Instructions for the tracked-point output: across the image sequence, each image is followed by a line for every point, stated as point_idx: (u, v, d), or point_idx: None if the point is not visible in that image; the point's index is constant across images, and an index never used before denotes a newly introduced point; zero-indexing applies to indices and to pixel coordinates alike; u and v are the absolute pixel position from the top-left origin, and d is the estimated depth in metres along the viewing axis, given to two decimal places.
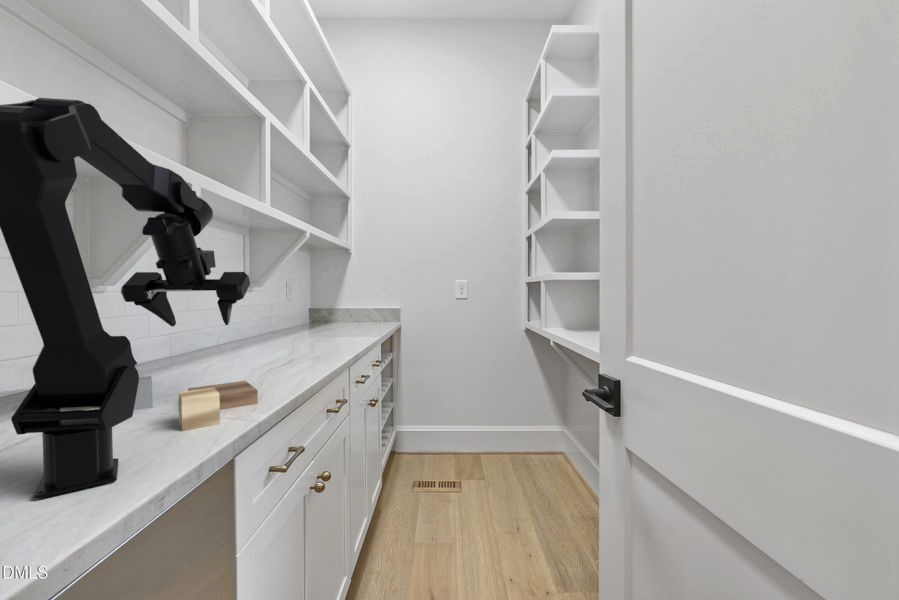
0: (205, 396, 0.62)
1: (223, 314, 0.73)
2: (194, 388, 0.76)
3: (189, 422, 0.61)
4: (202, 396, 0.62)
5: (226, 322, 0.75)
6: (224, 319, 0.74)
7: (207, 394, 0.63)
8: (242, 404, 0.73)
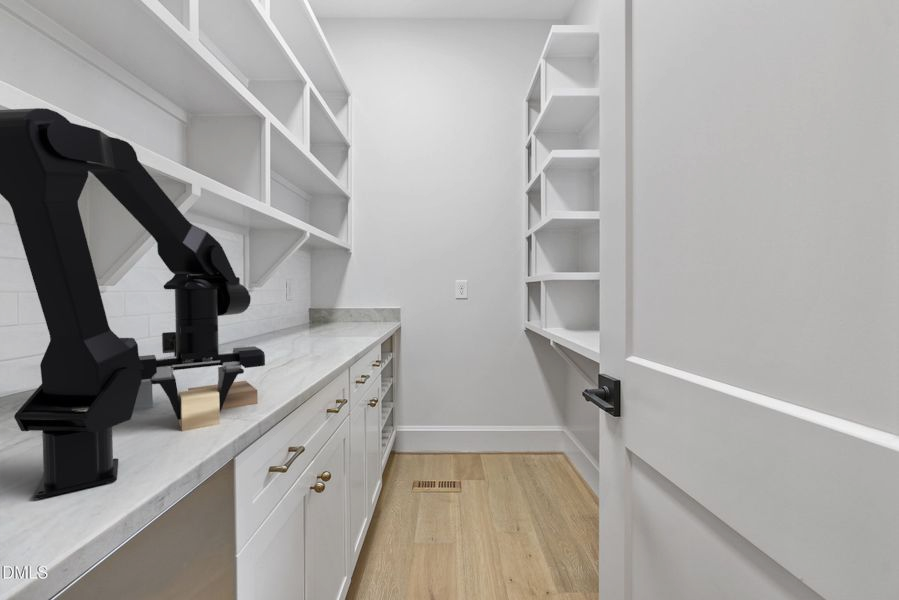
0: (205, 395, 0.62)
1: (223, 393, 0.64)
2: (194, 388, 0.76)
3: (189, 422, 0.61)
4: (202, 395, 0.62)
5: (220, 407, 0.65)
6: (220, 402, 0.65)
7: (207, 393, 0.63)
8: (242, 404, 0.73)
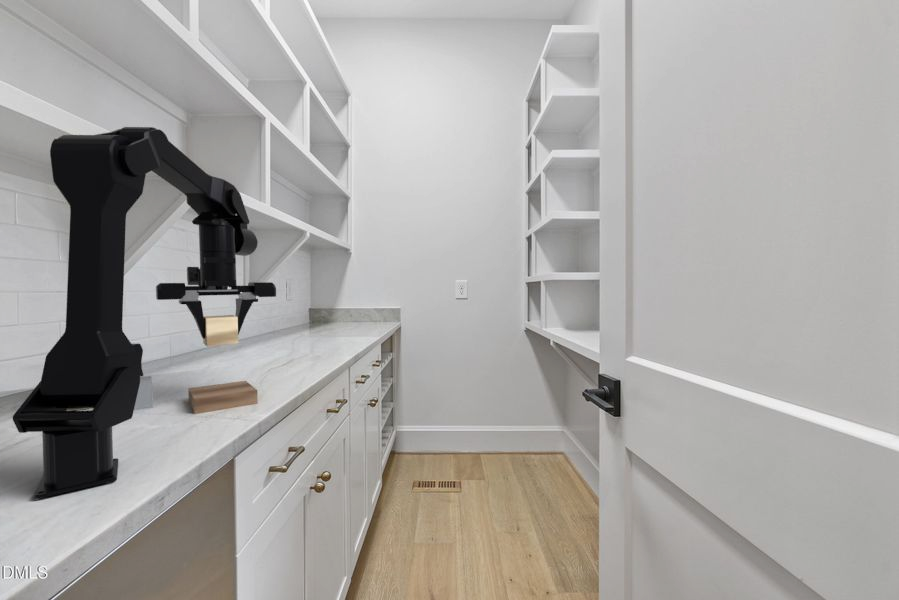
0: (225, 318, 0.72)
1: (240, 318, 0.75)
2: (194, 388, 0.76)
3: (212, 339, 0.71)
4: (223, 318, 0.72)
5: (238, 331, 0.75)
6: (238, 326, 0.75)
7: (227, 317, 0.73)
8: (242, 404, 0.73)
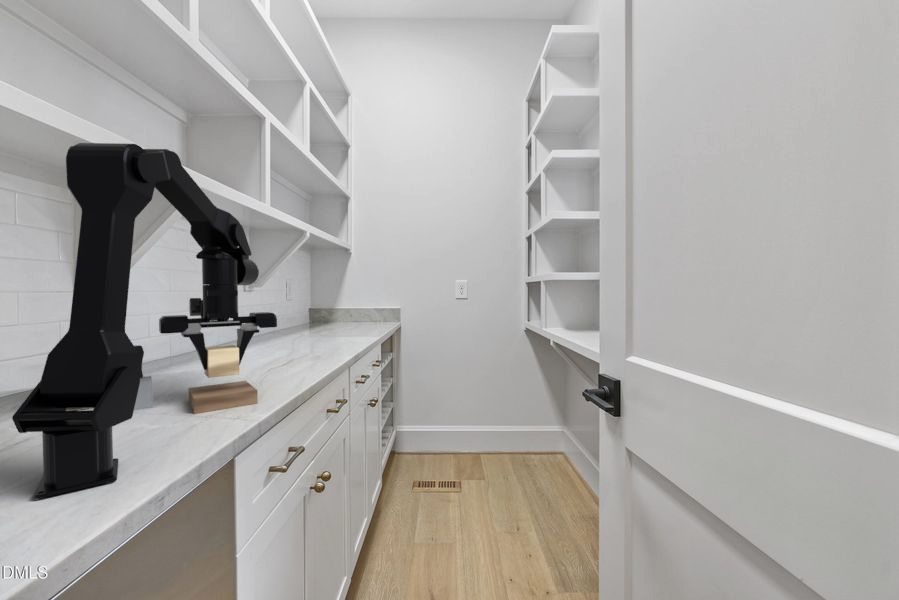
0: (227, 349, 0.74)
1: (242, 349, 0.76)
2: (194, 388, 0.76)
3: (214, 370, 0.72)
4: (225, 349, 0.74)
5: (239, 361, 0.76)
6: (239, 356, 0.76)
7: (229, 348, 0.74)
8: (242, 404, 0.73)
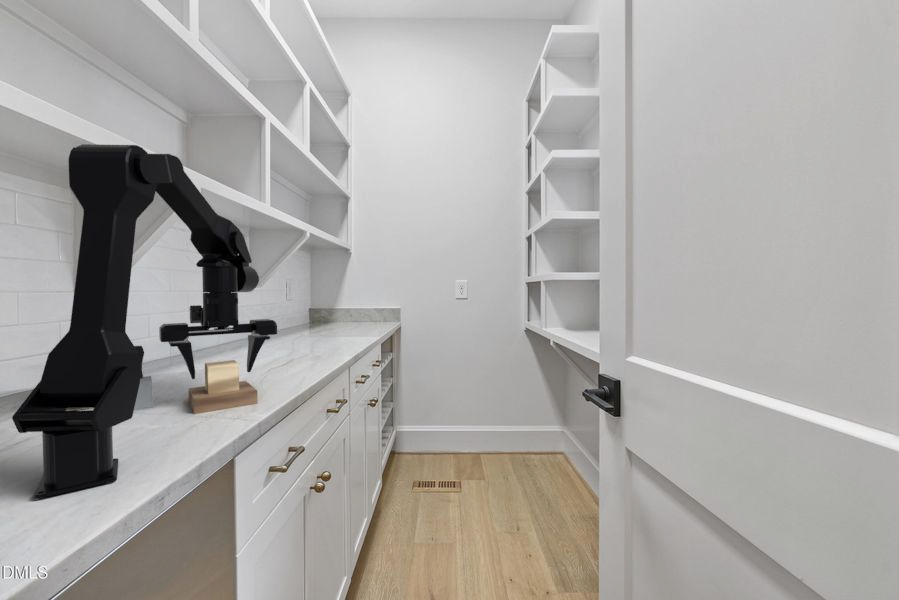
0: (227, 365, 0.74)
1: (253, 355, 0.77)
2: (194, 388, 0.76)
3: (213, 387, 0.72)
4: (224, 365, 0.74)
5: (250, 367, 0.78)
6: (251, 363, 0.77)
7: (228, 364, 0.74)
8: (242, 404, 0.73)
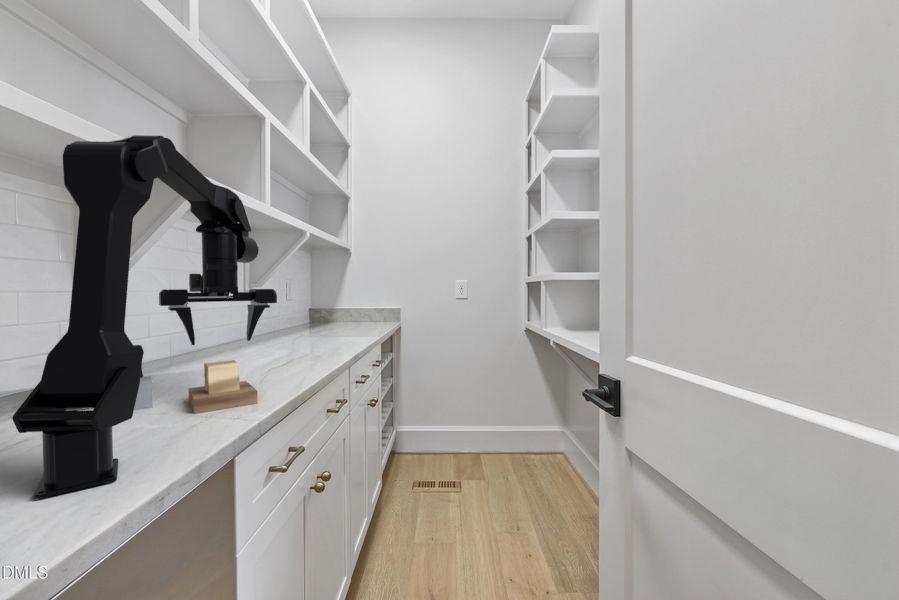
0: (227, 365, 0.74)
1: (253, 323, 0.77)
2: (194, 388, 0.76)
3: (214, 387, 0.72)
4: (225, 365, 0.74)
5: (250, 336, 0.78)
6: (250, 331, 0.77)
7: (229, 364, 0.74)
8: (242, 404, 0.73)
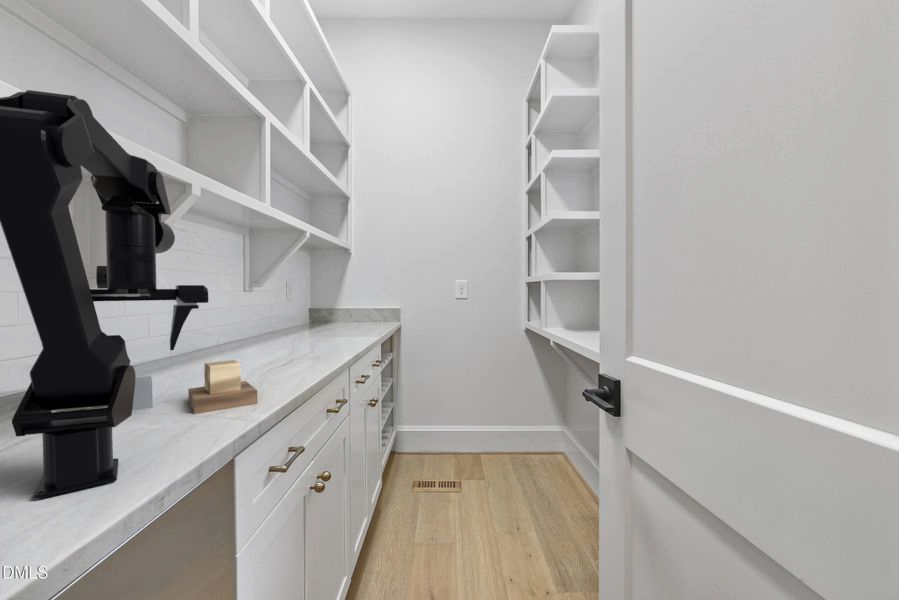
0: (229, 365, 0.74)
1: (176, 328, 0.61)
2: (194, 388, 0.76)
3: (216, 387, 0.72)
4: (226, 365, 0.74)
5: (173, 344, 0.62)
6: (173, 338, 0.61)
7: (230, 364, 0.74)
8: (242, 404, 0.73)
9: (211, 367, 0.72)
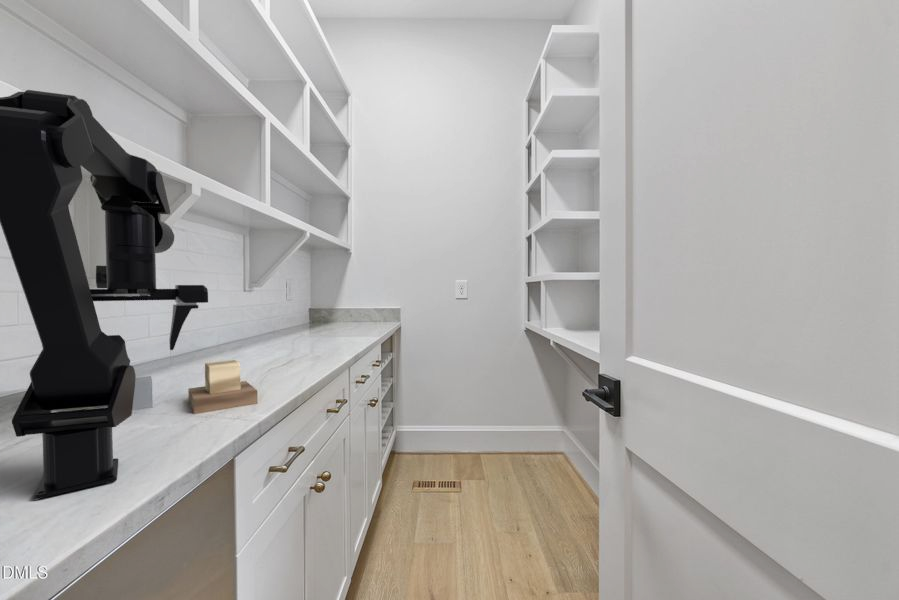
0: (228, 365, 0.74)
1: (175, 328, 0.61)
2: (194, 388, 0.76)
3: (215, 386, 0.73)
4: (226, 365, 0.74)
5: (173, 344, 0.62)
6: (173, 338, 0.61)
7: (230, 363, 0.75)
8: (242, 404, 0.73)
9: (210, 367, 0.72)
